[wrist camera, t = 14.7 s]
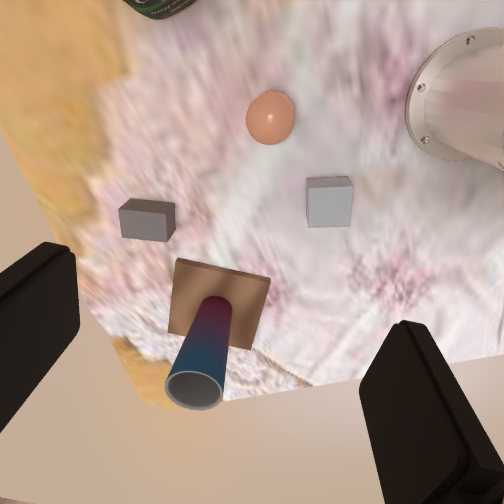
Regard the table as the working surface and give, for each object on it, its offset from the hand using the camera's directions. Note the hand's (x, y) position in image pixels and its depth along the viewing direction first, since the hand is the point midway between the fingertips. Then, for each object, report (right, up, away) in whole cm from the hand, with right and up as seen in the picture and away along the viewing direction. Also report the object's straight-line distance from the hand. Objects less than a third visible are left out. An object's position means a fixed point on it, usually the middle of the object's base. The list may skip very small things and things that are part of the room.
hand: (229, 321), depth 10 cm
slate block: (+10, +9, +32) cm, 35 cm away
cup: (-5, -7, +41) cm, 42 cm away
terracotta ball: (+3, +18, +28) cm, 33 cm away
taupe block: (-13, +7, +36) cm, 39 cm away
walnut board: (-5, -6, +42) cm, 43 cm away
